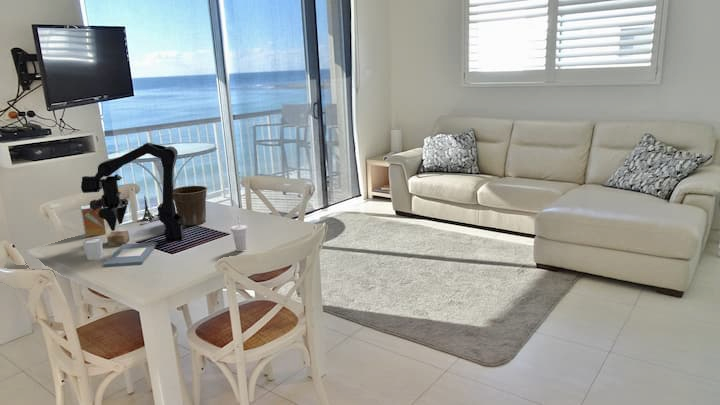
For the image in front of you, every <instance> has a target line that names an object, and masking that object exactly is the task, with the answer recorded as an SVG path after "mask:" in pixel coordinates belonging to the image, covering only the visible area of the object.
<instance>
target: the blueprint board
mask: <svg viewBox="0 0 720 405" xmlns="http://www.w3.org/2000/svg"><path fill="white" fill-rule="evenodd" d="M156 245H158V241H154V242H152V241H150V242H138V243H135V242H134V243H126V244H122V245H120V246H118V248H117V249H116V250H115V251H114V252H113V253H112V255H111V256H109V257H108V259H107V260H106V261H105V262H104V263H103V264H102V265H103V267H115V266H116V267H119V266H131V265H133V266H134V265H143V264H144V263H145V262H146V260H147V259H148V258H149V256H150V255H151V254H152V252H153V251H154V249H156V247H157V246H156Z"/></svg>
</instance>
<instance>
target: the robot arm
mask: <svg viewBox="0 0 720 405" xmlns="http://www.w3.org/2000/svg"><path fill="white" fill-rule="evenodd" d="M145 155H151V156H153V157H154V158H157V159H160V164H161V166H162V169H163V170H162V171H163V172H162V174H163V175H162V176H163V177H162V178H163V179H162V180H163V181H162V203H160V204H159V205H158V206H157V214H156V215H157V216H156V217H159V220H158V221H159V222H161V223H162V224H164V226H165V229H164V235H165V242H171V241H172V242H174V241H175V242H176V241H182V240H183V239H184V237H185V234H184V229H183V225H182V223H180V222H181V219H182V217H181V216H180V215H178V214H177V210H176V206H175V202H174V200H173V189H174V182H175V181H174V176H175V166H176V163H177V159H178V156H179V155H178V150H177V149H176V147H174V146H172V145H171V146H170V145H169V146H166V145H165V146H164V145H159V144H157V143H156V144H154V143H152V142H145V143H144V144H143V145H141V146H139V147H137V148H135V149H133V150H130V151H129V152H127V153H125V154H122V155H121V156H118V157H113V158H110V159H107V160H104V161H103V162H100V163H99V164H98V165H97V171H96V173H95V175H92V176H90V175H89V176H88V175H83V176H82V177H81V186H80V188H81V192H82V193H83V194H90V193H91V194H92V193H99V192H100V191H101V190H102V192H103V194H102V195H101V197H100V198H98V199H92V200H91V201H89V204H88V205H90V208H92V209H93V210H96V209H98V208H100V207H102V209H101V210H100V211H99V212H98V216H99V217H101V218H103V219H104V221H106V223H107V224H108V226H109V228H110V230H111V232H115V231H116V225H117V223H118V224H119V225H122V224H123V221H124V219H125V215H126V211H127V209H128V206H129V200H128V199H127V198H121V197H120V195H121V194H122V193H121V191H119V186H118V181H120V180H122V179H123V176H121V175H119V174H118V173H115V172H117V171H118V170H119V169H120V168H122V167H124V166H125V165H127V164H129V163H131V162H133V161H135V160H137V159H139V158H141V157H143V156H145ZM114 173H115V175H112V174H114ZM104 177H105V178H104ZM117 221H118V222H117Z"/></svg>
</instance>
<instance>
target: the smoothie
mask: <svg viewBox="0 0 720 405" xmlns="http://www.w3.org/2000/svg"><path fill="white" fill-rule="evenodd" d="M240 217H241V216H240V215H238V217H237V218H238V224H236V225H233V226H231V227H230V231H231V232H232V236H233V240H234V242H233V243H234V245H235V250H236V252H238V251H243V250H245V251H247V237H248V236H247V232H248V231H247V230H248V226H247V225H245V224H241V219H240ZM243 252H244V251H243Z"/></svg>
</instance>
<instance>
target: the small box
mask: <svg viewBox="0 0 720 405" xmlns="http://www.w3.org/2000/svg"><path fill="white" fill-rule="evenodd" d="M102 208H103V206H102V207H100V208H98V209H96V210H93V209H92V208H90V205H89V204H88V205H81V206H80V208H79V209H80V215H81V219H82V226H83V232H84V235H85V237H86V238H89V237H95V236H100V235H106V234H107V231H106V224H105V219H103V218H101V217H99V216H98V212H99V211H100V210H101V209H102Z"/></svg>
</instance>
